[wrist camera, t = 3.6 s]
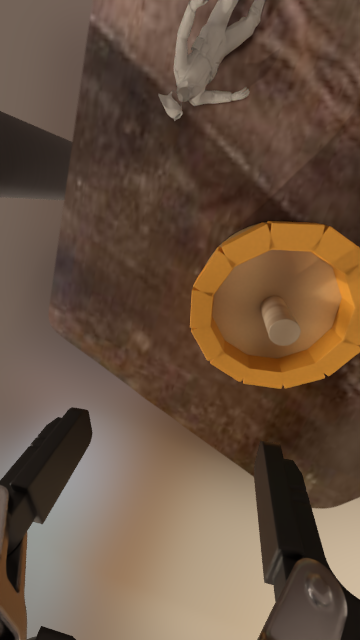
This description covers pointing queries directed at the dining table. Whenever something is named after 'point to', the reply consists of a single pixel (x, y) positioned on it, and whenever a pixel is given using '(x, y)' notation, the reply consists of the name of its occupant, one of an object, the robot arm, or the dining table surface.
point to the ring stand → (276, 302)
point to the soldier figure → (208, 54)
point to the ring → (302, 367)
